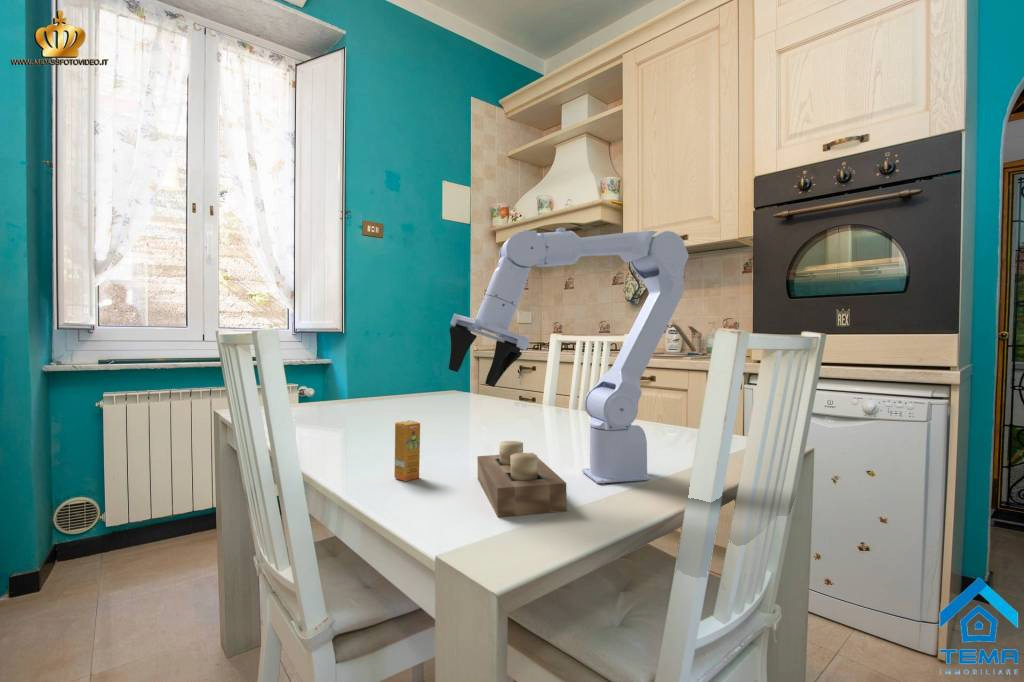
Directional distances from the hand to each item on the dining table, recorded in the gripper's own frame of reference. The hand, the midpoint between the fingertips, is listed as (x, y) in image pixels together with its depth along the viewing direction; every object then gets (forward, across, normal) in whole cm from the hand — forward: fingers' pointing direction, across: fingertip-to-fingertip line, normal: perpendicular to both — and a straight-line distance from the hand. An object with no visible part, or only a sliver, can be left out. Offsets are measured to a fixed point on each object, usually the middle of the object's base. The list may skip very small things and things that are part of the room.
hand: (470, 378), depth 82 cm
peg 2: (+11, +15, +1) cm, 19 cm away
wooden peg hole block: (+14, +13, +5) cm, 20 cm away
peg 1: (+11, +9, +8) cm, 16 cm away
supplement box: (+21, -8, +5) cm, 23 cm away
